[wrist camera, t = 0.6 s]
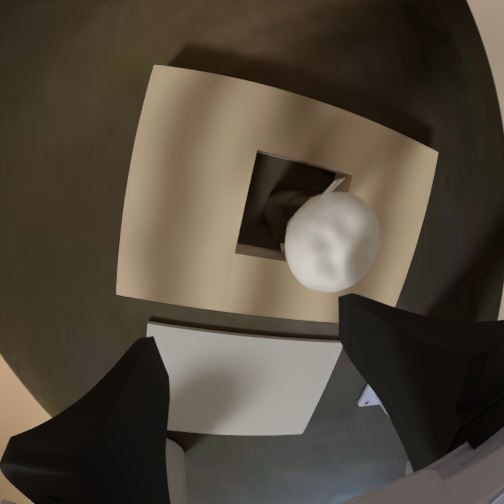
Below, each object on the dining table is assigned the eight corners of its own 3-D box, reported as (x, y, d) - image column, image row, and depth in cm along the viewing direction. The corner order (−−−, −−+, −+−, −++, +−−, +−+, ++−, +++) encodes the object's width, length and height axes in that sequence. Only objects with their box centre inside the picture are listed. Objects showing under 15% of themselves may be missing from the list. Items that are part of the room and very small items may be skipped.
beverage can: (128, 422, 24) (115, 528, 13) (191, 437, 26) (199, 541, 14) (122, 454, 25) (112, 544, 14) (177, 466, 27) (182, 555, 16)
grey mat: (342, 340, 25) (344, 342, 24) (301, 431, 28) (302, 433, 27) (148, 320, 21) (147, 323, 21) (144, 423, 24) (144, 426, 24)
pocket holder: (418, 151, 21) (438, 152, 18) (372, 311, 24) (387, 325, 22) (159, 75, 16) (154, 64, 14) (124, 279, 20) (116, 294, 18)
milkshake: (305, 159, 20) (391, 164, 10) (323, 232, 21) (407, 286, 12) (240, 178, 19) (280, 197, 10) (264, 252, 21) (314, 327, 12)
